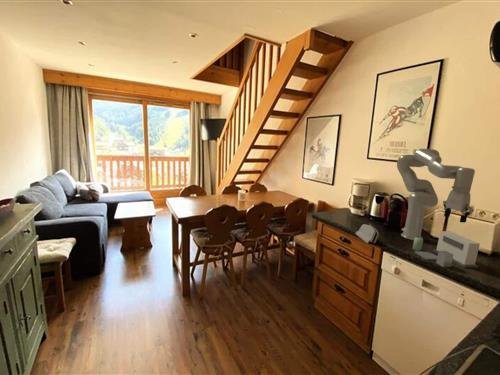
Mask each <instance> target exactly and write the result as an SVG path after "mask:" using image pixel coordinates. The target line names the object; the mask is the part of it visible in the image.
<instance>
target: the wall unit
mask: <svg viewBox="0 0 500 375" xmlns="http://www.w3.org/2000/svg"><path fill="white" fill-rule="evenodd" d="M437 241H438V242H437V245H436V249H435V248H434V249H433V250H432V251H433V252H434V253H436V254H437V255H438V252H439V251H447V252H449V253H451V254H453V259H452V263H454V264H456V265H458V266H459V267H462V268H465V269H479V265H478V264H476V261H477V258H478V252H479V248H480V244H481V243H479V242H476V241H474V240H472V239H469V238H467V237H464V236H462V235H459V234H457V233H455V232H453V231H449V230H446V231H445V230H444V231H443V230H440V232H439V237H438V240H437Z"/></svg>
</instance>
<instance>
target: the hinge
mask: <svg viewBox="0 0 500 375" xmlns="http://www.w3.org/2000/svg"><path fill="white" fill-rule="evenodd" d="M379 234H380V233H379V231H378V230H377V228H375V227H373V226H372V225H369V224H365V223H364V224H362V225H361V226H360V227H359V229H358V231H356V232H355V235H357V237H358V238H360V239H361V240H363V241H364V242H365V243H366V244H369V243H373V244H376V242H377V240H378V238H379Z"/></svg>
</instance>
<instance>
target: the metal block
mask: <svg viewBox="0 0 500 375" xmlns="http://www.w3.org/2000/svg"><path fill="white" fill-rule="evenodd" d="M436 256H437V260H435V263H436V264H437V265H439V266H441V267H442V268H451V267H452V265H453V264H452V263H453V262H452V259H453V254H451V253H449V252H447V251H439V252H438V254H437V255H436Z"/></svg>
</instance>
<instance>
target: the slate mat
mask: <svg viewBox="0 0 500 375" xmlns="http://www.w3.org/2000/svg"><path fill="white" fill-rule="evenodd" d="M414 254H416V255H418V256H420V257H421V258H423V259H424V260H426V261H437V256H438V255H436V254H434V253H432V252H431V251H422V250H421V251H416V250H414Z"/></svg>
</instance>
